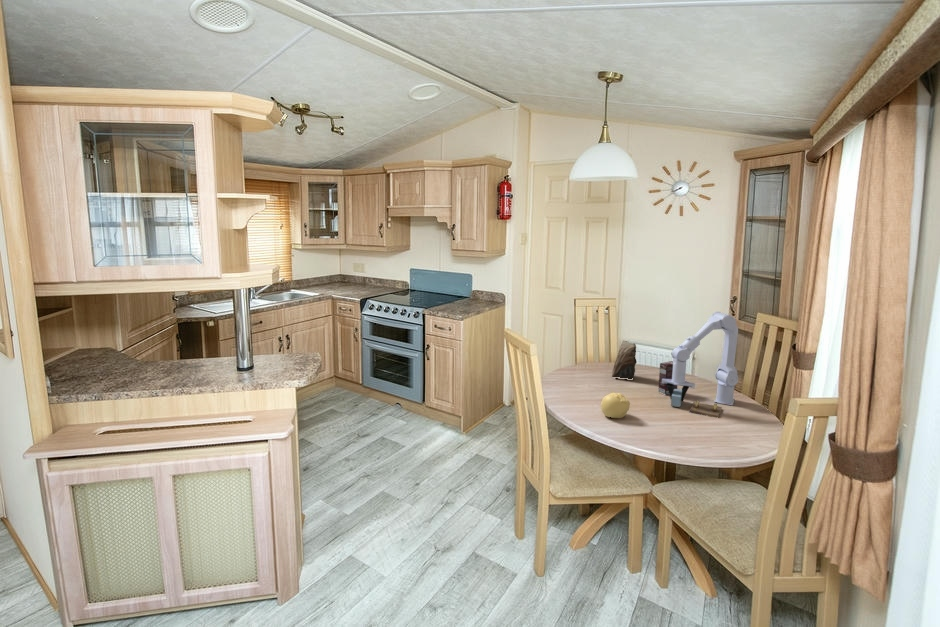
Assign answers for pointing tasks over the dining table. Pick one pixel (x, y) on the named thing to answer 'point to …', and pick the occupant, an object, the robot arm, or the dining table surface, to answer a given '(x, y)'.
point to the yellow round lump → (615, 405)
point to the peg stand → (705, 409)
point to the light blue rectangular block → (676, 398)
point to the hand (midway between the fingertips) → (677, 399)
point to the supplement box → (665, 376)
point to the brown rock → (625, 361)
